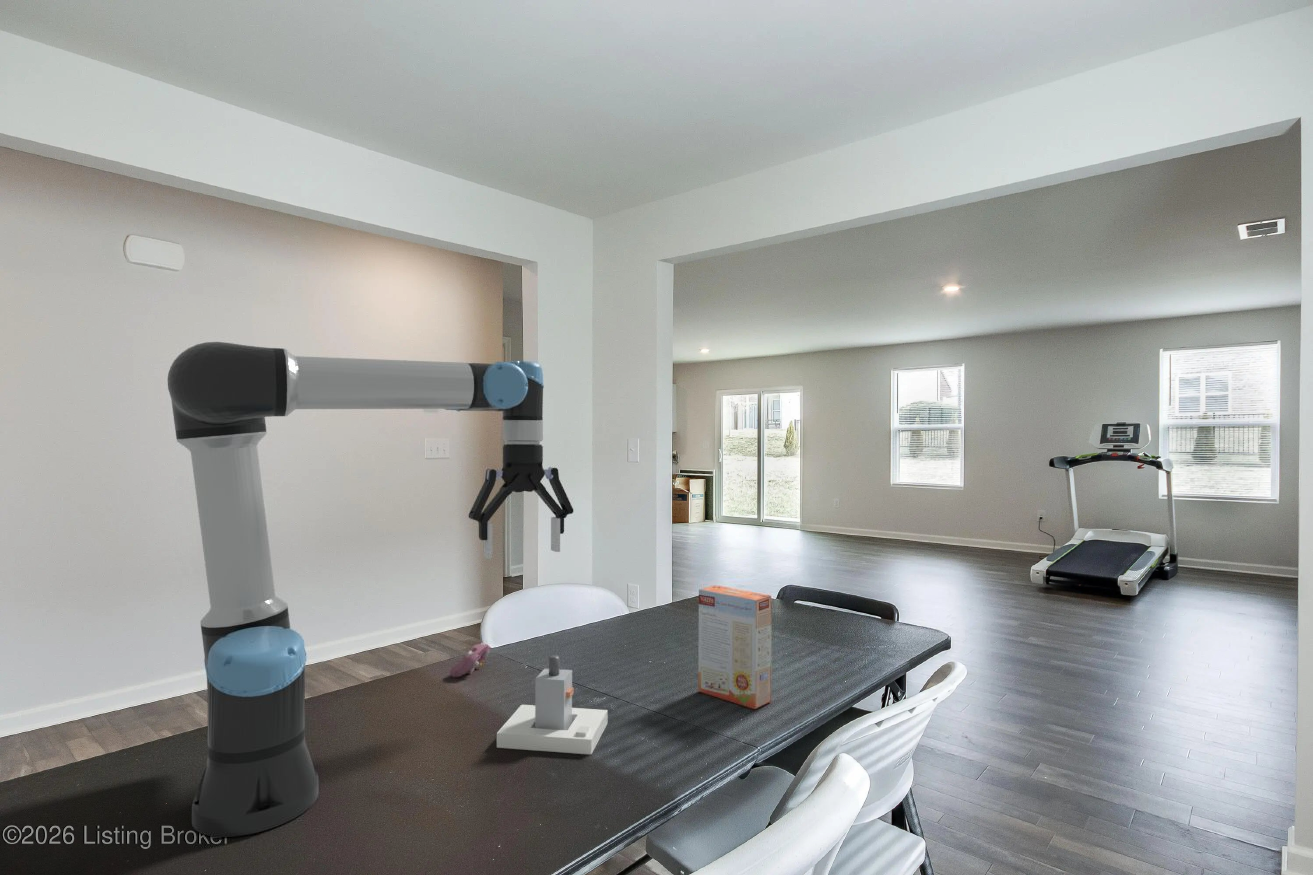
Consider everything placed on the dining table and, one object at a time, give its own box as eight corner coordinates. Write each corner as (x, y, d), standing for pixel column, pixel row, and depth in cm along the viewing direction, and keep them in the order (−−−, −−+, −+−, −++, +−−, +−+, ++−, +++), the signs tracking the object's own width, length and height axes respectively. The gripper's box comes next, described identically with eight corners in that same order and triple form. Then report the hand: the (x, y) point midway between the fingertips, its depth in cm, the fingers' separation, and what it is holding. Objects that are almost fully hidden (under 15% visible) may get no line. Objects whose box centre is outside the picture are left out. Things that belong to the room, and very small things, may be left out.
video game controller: (464, 686, 144) (478, 657, 143) (446, 675, 145) (460, 647, 144) (484, 670, 154) (497, 643, 153) (467, 660, 154) (480, 633, 154)
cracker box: (772, 702, 132) (773, 594, 132) (754, 711, 128) (755, 599, 128) (715, 683, 142) (715, 583, 142) (697, 691, 137) (697, 587, 137)
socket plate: (496, 747, 113) (496, 729, 113) (521, 717, 125) (521, 701, 124) (591, 754, 110) (591, 735, 110) (607, 723, 122) (607, 706, 122)
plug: (535, 737, 115) (535, 660, 115) (544, 725, 120) (544, 651, 120) (567, 739, 114) (567, 662, 114) (575, 727, 119) (575, 653, 119)
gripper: (573, 442, 140) (573, 545, 140) (451, 443, 127) (451, 557, 127) (590, 443, 134) (590, 551, 134) (463, 443, 121) (463, 563, 121)
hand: (522, 554), depth 131 cm, fingers open, 13 cm apart
